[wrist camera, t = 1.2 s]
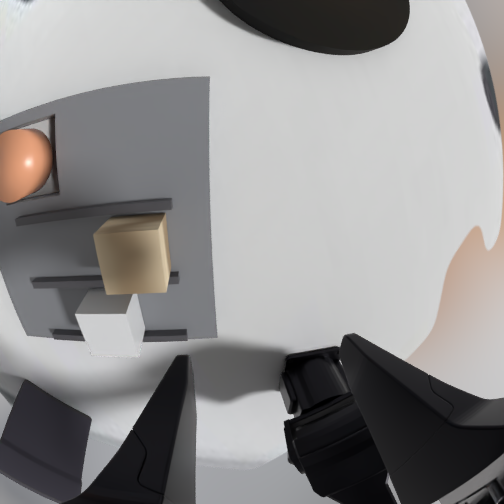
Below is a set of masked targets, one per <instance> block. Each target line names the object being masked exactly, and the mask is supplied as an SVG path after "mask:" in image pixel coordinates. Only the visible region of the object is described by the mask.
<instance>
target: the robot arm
mask: <svg viewBox="0 0 504 504" xmlns="http://www.w3.org/2000/svg"><path fill="white" fill-rule="evenodd" d="M289 360H290V361H289ZM339 360H341V363H342V365H341V363H340V361H339ZM279 389H280V392H281V395H282V398H283V401H284V404H285V407H286V410H287V413H288V414H293V415H294V417H295V418H293V419H290V420H289V419H288V420H286V421H284V426H285V428H284V432H285V438H286V444H287V449H288V461H289V463H290V464H293V465H295V467H296V468H297V469H298V471H299V472H300V473H301V474H304V473H305V474H306V476H307V478H308V480H309V482H310V484H311V486H312V489H313V491H314V492H315V493H317V494H318V495H320V496H321V497H326V496H327V497H329V498H331V499H333V500H335V501H337V502H339V503H340V504H397V502H396V500H395V498H394V496H393V494H392V492H391V490H390V488H389V485H388V479H389V476H390V479H391V481H392V483H393V486H394V488H395V491H396V493H397V495H398V498H399V500H400V503H401V504H432V503H433V502H435V501H437V500H439V501H440V503H441V504H504V398H499V399H491V400H489V399H483V398H480V397H477V396H475V395H472V394H470V393H467V392H465V391H462V390H460V389H458V388H455V387H453V386H451V385H448V384H446V383H444V382H442V381H440V380H438V379H436V378H435V377H433V376H431V375H428V374H427V373H425V372H424V371H422V370H420V369H418V368H416V367H414V366H412V365H411V364H409V363H407V362H405V361H403V360H402V359H400V358H398V357H396V356H394V355H393V354H391V353H389V352H387V351H385V350H384V349H382V348H380V347H378V346H377V345H375V344H373V343H371V342H369V341H368V340H366V339H364V338H362V337H361V336H359V335H357V334H355V333H352V334H347V335H344V337H343V339H342V343H341V346H340V347H336V348H331V349H326V350H320V351H315V352H309V353H303V354H297V355H291V356H288V357H286V358H285V363H284V371H283V372H282V373H281V376H280V384H279ZM196 424H197V413H196V401H195V389H194V376H193V370H192V365H191V359H190V356H189V355H177V356H176V358H175V359H174V361H173V362H172V364H171V366H170V367H169V369H168V371H167V372H166V374H165V375H164V377H163V379H162V380H161V382H160V384H159V385H158V387H157V389H156V390H155V392H154V393H153V395H152V397H151V398H150V400H149V402H148V403H147V405H146V407H145V408H144V410H143V411H142V413H141V415H140V416H139V418H138V420H137V421H136V423H135V425H134V426H133V428H132V429H133V430H131V431H130V433H129V434H128V436H127V438H126V439H125V441H124V442H123V444H122V445H121V447H120V449H119V450H118V451H117V453H116V454H115V455H114V457H113V458H112V459H111V460H110V462H109V463H108V464H107V465H106V467H105V468H104V469H103V470H102V472H101V473H100V474H99V475H98V476H97V478H96V479H95V480H94V481H93V482H92V484H91V485H90V486H89V487H88V488H87V489H86V490H85V491H84V492H83V493H81V494H80V495H78V496H77V497H75V498H72V499H70V500H67V501H65V502H62V503H60V504H196V503H195V466H196Z"/></svg>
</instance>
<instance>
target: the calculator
mask: <svg viewBox="0 0 504 504" xmlns="http://www.w3.org/2000/svg"><path fill="white" fill-rule="evenodd" d="M91 421H92V420H91V418H90V417H89V416H87V415H85V414H83V413H81V412H79V411H77V410H75V409H74V408H72V407H70V406H68V405H66V404H65V403H63V402H61V401H59V400H58V399H56V398H54V397H53V396H51V395H49V394H48V393H46V392H45V391H43V390H42V389H40V388H39V387H37V386H36V385H34V384H33V383H31V382H30V381H28V380H24V382H23V384H22V386H21V388H20V391H19V393H18V395H17V398H16V400H15V402H14V405H13V407H12V410H11V412H10V415H9V417H8V420H7V423H6V425H5V429H4V431H3V434H2V437H1V439H0V473H1V474H3V475H5V476H6V477H8V478H9V479H11V480H13V481H15V482H16V483H18V484H20V485H22V486H24V487H25V488H28V489H30V490H31V491H33V492H35V493H37V494H39V495H41V496H43V497H45V498H48V499H50V500H52V501H55V502H57V503H59V504H60V503H62V502H65V501H67V500H70V499H72V498H75V497H77V496H78V495H80V494H81V487H82V481H81V478H82V471H83V464H84V457H85V451H86V446H87V440H88V436H89V431H90V426H91Z"/></svg>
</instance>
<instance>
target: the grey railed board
mask: <svg viewBox="0 0 504 504" xmlns="http://www.w3.org/2000/svg"><path fill="white" fill-rule="evenodd" d="M209 83H210V77H185V78H171V79H161V80H152V81H144V82H136V83H130V84H123V85H118V86H112V87H107V88H102V89H97V90H93V91H89V92H84V93H80V94H76V95H73V96H69V97H65V98H62V99H59V100H55V101H52V102H49V103H46V104H43V105H40V106H37V107H34V108H31V109H28V110H26V111H23V112H21V113H18V114H16V115H13V116H11V117H8V118H6V119H4V120H1V121H0V134H2V133H3V132H5V131H8V130H17V129H19V128H22V127H25V126H28V125H31V124H34V123H37V122H40V121H43V120H47V119H50V118H53V117H55V138H56V159H57V171H58V182H59V190H60V193H54V194H48V195H43V196H38V197H32V198H28V199H23V200H18V201H15V202H12V203H5V202H2V201H0V269H1V273H2V276H3V279H4V281H5V284H6V287H7V290H8V293H9V295H10V298H11V300H12V303H13V305H14V308H15V310H16V312H17V315H18V317H19V319H20V322H21V324H22V326H23V328H24V330H25V332H26V334H27V336H36V337H47V338H54V339H57V340H73V341H85V339H84V336H83V334H82V331H81V329H80V326H79V324H78V321H77V318H76V316H75V313H76V311H77V309H78V307H79V306H80V304H81V302H82V301H83V299H84V297H85V295H86V294H87V292H88V290H89V289H90V288H105V286H104V283H103V279H102V274H101V270H100V266H99V261H98V257H97V252H96V247H95V242H94V237H93V234H94V233H95V232H96V231H97V230H98V229H99V228H100V227H101V226H102V225H103V224H104V223H105V222H106V221H107V220H108V219H109V218H110V217H119V216H130V215H142V214H155V213H166V222H167V232H168V242H169V252H170V260H171V271H170V276H169V281H168V287H167V292H166V293H143V294H137V296H138V300H139V305H140V309H141V313H142V317H143V321H144V325H145V332H144V336H143V341H142V342H167V341H188V339H202V338H217V325H216V311H215V297H214V281H213V264H212V243H211V219H210V184H209Z"/></svg>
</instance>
